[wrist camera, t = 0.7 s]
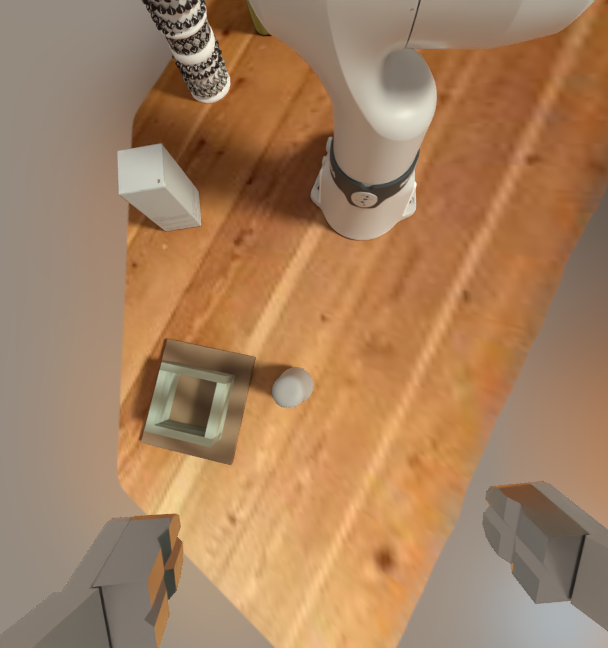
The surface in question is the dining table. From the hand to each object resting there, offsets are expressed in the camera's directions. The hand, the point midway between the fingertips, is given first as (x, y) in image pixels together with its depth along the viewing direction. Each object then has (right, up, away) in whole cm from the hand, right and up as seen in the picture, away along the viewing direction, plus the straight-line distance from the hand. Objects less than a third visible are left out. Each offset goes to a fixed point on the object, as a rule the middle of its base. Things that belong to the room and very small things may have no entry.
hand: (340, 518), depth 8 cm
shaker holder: (-19, -8, +43) cm, 48 cm away
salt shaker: (-2, -5, +42) cm, 43 cm away
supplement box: (-24, +26, +48) cm, 60 cm away
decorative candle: (-20, +53, +51) cm, 76 cm away
